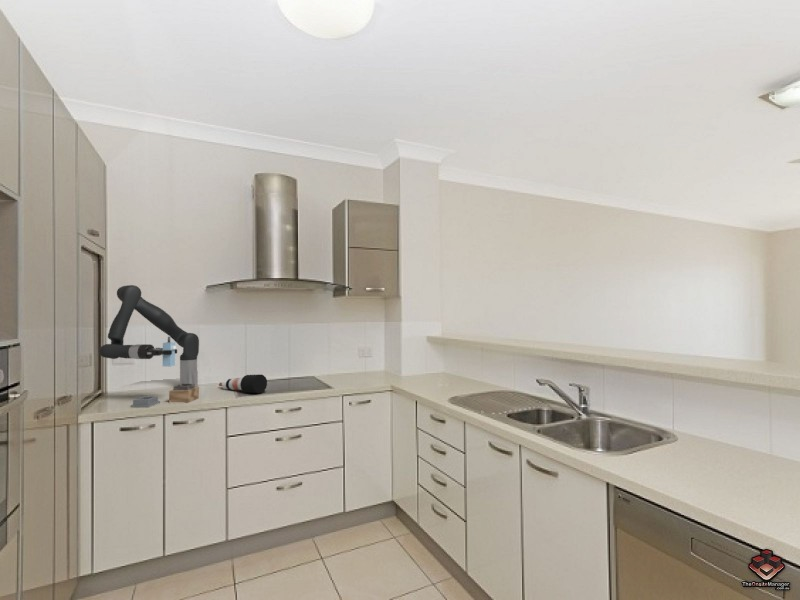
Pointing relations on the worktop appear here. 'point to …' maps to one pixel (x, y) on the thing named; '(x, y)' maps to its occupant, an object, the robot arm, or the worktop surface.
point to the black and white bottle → (246, 383)
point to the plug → (169, 359)
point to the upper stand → (184, 393)
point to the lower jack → (145, 401)
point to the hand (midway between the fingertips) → (174, 351)
